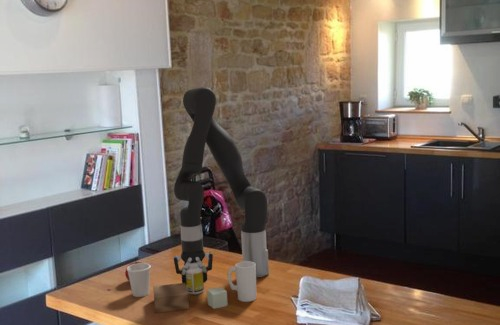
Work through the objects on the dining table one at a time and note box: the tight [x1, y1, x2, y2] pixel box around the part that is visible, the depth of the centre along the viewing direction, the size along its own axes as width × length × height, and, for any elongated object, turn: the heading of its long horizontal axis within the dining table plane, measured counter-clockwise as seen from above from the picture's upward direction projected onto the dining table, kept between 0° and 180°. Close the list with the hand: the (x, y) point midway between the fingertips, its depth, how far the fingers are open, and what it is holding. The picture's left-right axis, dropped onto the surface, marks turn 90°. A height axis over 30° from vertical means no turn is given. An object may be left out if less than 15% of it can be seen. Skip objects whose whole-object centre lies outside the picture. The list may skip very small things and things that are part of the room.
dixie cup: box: [126, 262, 152, 298], centre depth 200 cm, size 8×8×10 cm
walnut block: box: [152, 282, 190, 314], centre depth 189 cm, size 11×11×5 cm
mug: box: [227, 260, 257, 303], centre depth 191 cm, size 10×7×12 cm, turn 71°
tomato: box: [124, 261, 143, 282], centre depth 212 cm, size 9×9×8 cm
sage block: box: [206, 286, 228, 310], centre depth 187 cm, size 5×5×5 cm
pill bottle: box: [185, 262, 205, 295], centre depth 199 cm, size 6×6×11 cm
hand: (194, 282), depth 200 cm, fingers closed on pill bottle, 6 cm apart
